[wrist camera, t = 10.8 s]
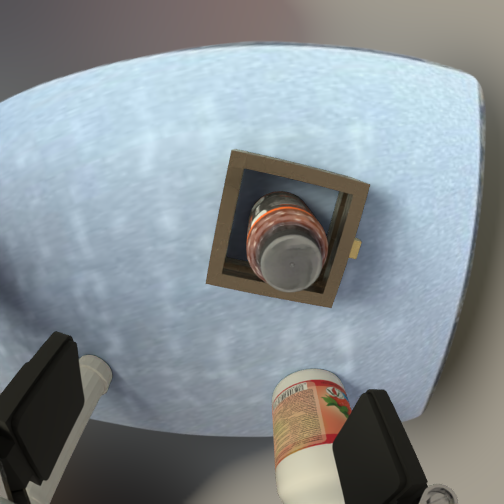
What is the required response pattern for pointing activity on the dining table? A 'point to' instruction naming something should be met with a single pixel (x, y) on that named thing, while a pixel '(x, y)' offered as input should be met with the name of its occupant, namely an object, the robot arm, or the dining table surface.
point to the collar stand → (338, 237)
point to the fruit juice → (308, 436)
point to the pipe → (94, 385)
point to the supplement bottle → (285, 242)
